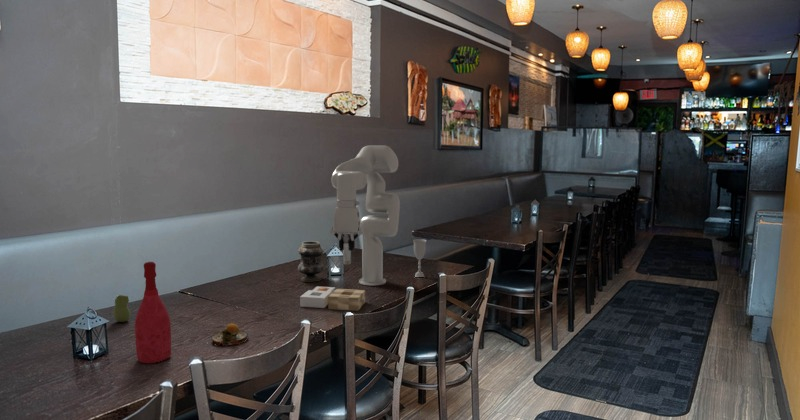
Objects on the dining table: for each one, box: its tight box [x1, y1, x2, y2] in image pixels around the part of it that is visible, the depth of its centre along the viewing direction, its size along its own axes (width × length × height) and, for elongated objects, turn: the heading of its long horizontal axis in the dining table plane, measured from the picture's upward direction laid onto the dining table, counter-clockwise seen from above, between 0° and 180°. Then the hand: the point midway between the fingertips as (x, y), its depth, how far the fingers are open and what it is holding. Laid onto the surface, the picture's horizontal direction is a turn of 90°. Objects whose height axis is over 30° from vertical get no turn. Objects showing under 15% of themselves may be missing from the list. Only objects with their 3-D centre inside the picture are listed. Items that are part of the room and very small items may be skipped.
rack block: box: [327, 288, 366, 312], centre depth 225 cm, size 12×12×5 cm
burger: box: [210, 321, 249, 347], centre depth 186 cm, size 12×12×8 cm
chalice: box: [412, 238, 427, 278], centre depth 271 cm, size 7×7×18 cm
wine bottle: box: [134, 261, 172, 364], centre depth 168 cm, size 10×10×30 cm
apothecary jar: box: [297, 240, 324, 283], centre depth 265 cm, size 12×12×18 cm
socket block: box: [299, 285, 336, 309], centre depth 231 cm, size 18×10×4 cm, turn 170°
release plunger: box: [319, 286, 327, 291], centre depth 236 cm, size 4×4×3 cm
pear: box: [112, 294, 132, 323], centre depth 203 cm, size 6×5×10 cm
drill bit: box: [342, 233, 352, 265], centre depth 222 cm, size 3×3×12 cm
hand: (346, 249), depth 222 cm, fingers closed on drill bit, 3 cm apart
